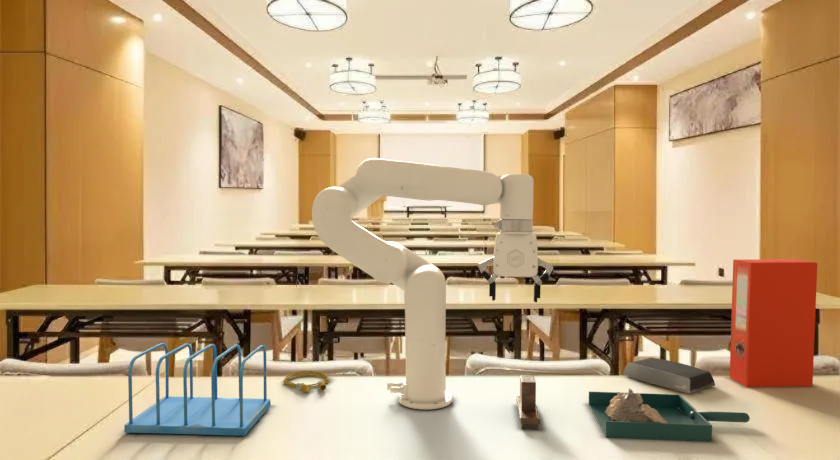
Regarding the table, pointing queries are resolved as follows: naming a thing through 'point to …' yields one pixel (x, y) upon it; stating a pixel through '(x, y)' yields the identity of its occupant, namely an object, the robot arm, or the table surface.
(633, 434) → the dustpan
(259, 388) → the table surface
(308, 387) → the gold rope bracelet
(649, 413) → the rock
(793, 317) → the file binder
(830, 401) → the table surface
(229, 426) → the file sorter
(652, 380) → the hard drive
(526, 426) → the brown stepped block
